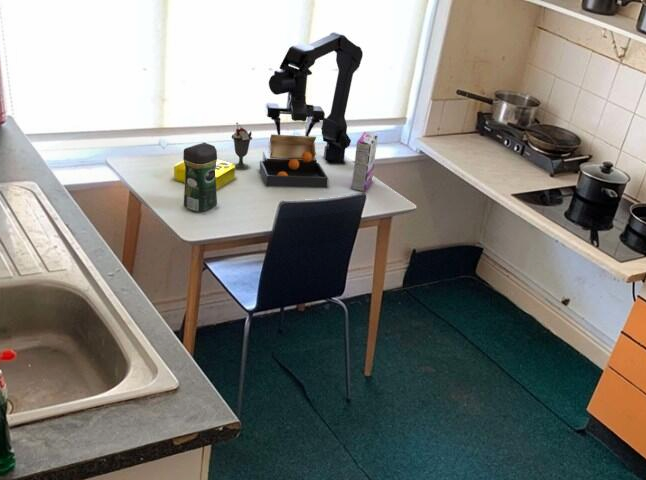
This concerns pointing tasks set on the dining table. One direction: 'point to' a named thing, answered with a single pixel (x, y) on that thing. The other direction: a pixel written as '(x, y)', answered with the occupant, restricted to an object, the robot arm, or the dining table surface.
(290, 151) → the wooden box
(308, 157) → the orange ball
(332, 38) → the robot arm
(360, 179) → the candy bar box
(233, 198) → the dining table surface
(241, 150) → the sundae
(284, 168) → the dark grey tray
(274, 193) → the dining table surface
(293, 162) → the orange ball
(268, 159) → the stand
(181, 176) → the yellow flat box
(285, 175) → the orange ball
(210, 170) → the coffee jar
